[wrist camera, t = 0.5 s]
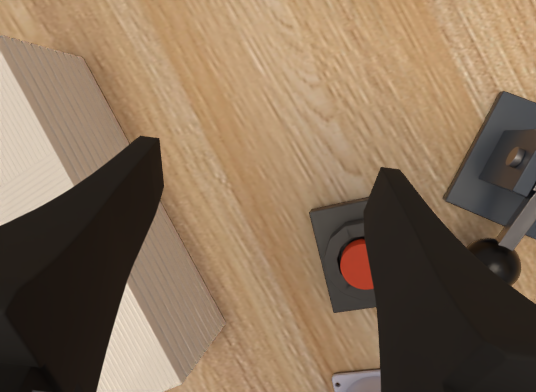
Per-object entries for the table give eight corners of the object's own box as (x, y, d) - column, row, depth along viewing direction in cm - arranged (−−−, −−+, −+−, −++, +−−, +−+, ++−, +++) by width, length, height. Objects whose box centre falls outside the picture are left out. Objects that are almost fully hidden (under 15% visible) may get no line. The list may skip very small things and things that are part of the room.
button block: (418, 293, 37) (424, 309, 33) (334, 305, 39) (332, 321, 35) (395, 191, 36) (399, 196, 32) (311, 209, 38) (306, 216, 35)
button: (392, 278, 34) (394, 285, 32) (346, 285, 35) (346, 293, 33) (382, 234, 34) (383, 239, 32) (336, 243, 35) (335, 248, 33)
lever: (495, 282, 32) (507, 310, 29) (448, 260, 33) (454, 286, 29) (586, 159, 27) (614, 175, 24) (529, 137, 28) (548, 149, 24)
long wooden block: (226, 323, 42) (181, 384, 32) (149, 356, 45) (86, 422, 34) (83, 57, 41) (-11, 31, 31) (14, 108, 44) (-92, 100, 34)
